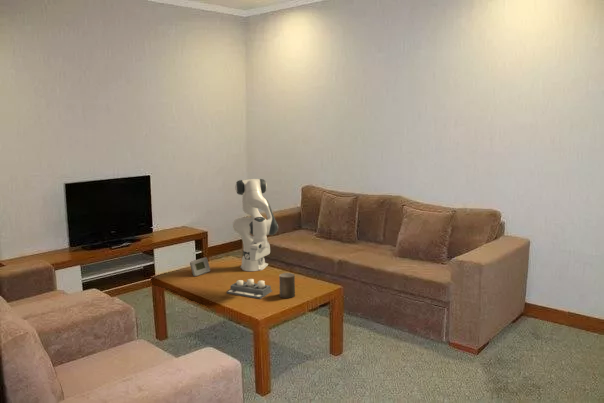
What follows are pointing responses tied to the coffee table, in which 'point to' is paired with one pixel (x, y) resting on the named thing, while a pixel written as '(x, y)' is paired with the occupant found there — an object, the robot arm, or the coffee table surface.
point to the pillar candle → (287, 285)
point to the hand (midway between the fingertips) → (260, 264)
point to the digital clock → (200, 266)
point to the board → (249, 290)
